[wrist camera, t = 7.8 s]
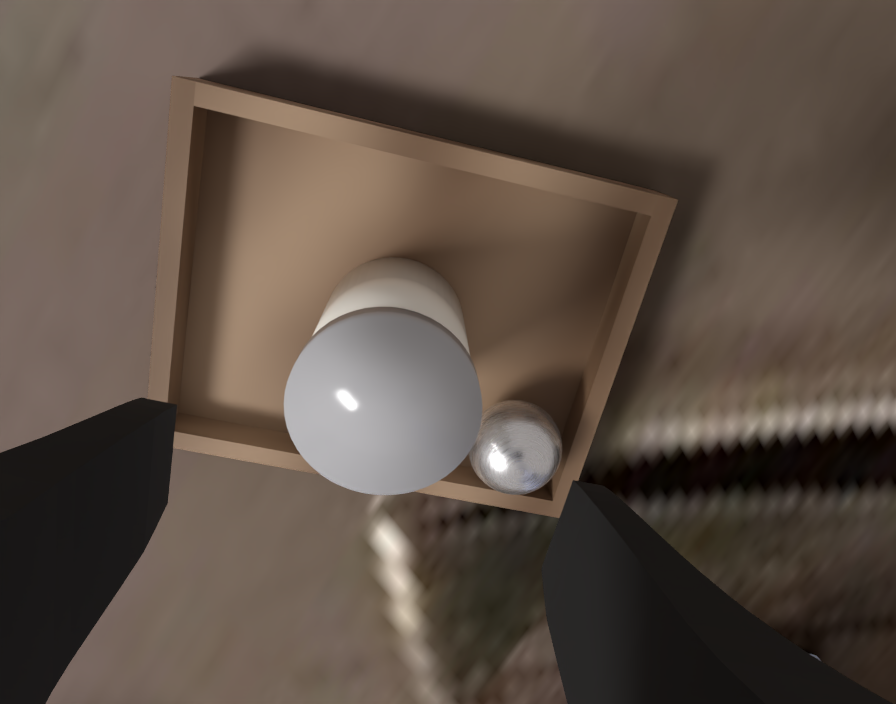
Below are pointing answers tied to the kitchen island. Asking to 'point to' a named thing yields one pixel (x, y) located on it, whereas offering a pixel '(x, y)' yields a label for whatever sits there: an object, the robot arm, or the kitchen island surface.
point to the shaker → (386, 382)
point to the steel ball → (516, 447)
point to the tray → (373, 237)
